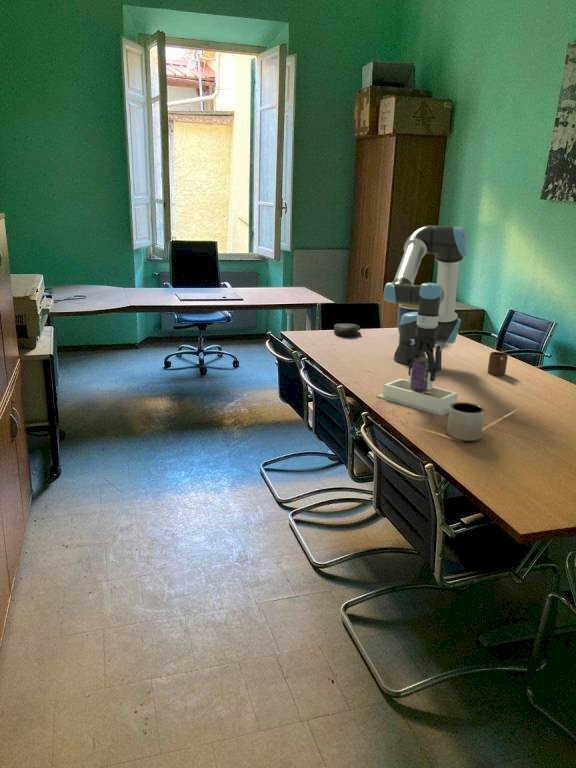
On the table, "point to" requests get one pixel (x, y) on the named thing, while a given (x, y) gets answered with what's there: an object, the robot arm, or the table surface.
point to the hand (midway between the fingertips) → (420, 386)
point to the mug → (497, 363)
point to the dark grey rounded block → (346, 330)
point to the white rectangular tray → (419, 397)
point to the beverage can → (420, 374)
